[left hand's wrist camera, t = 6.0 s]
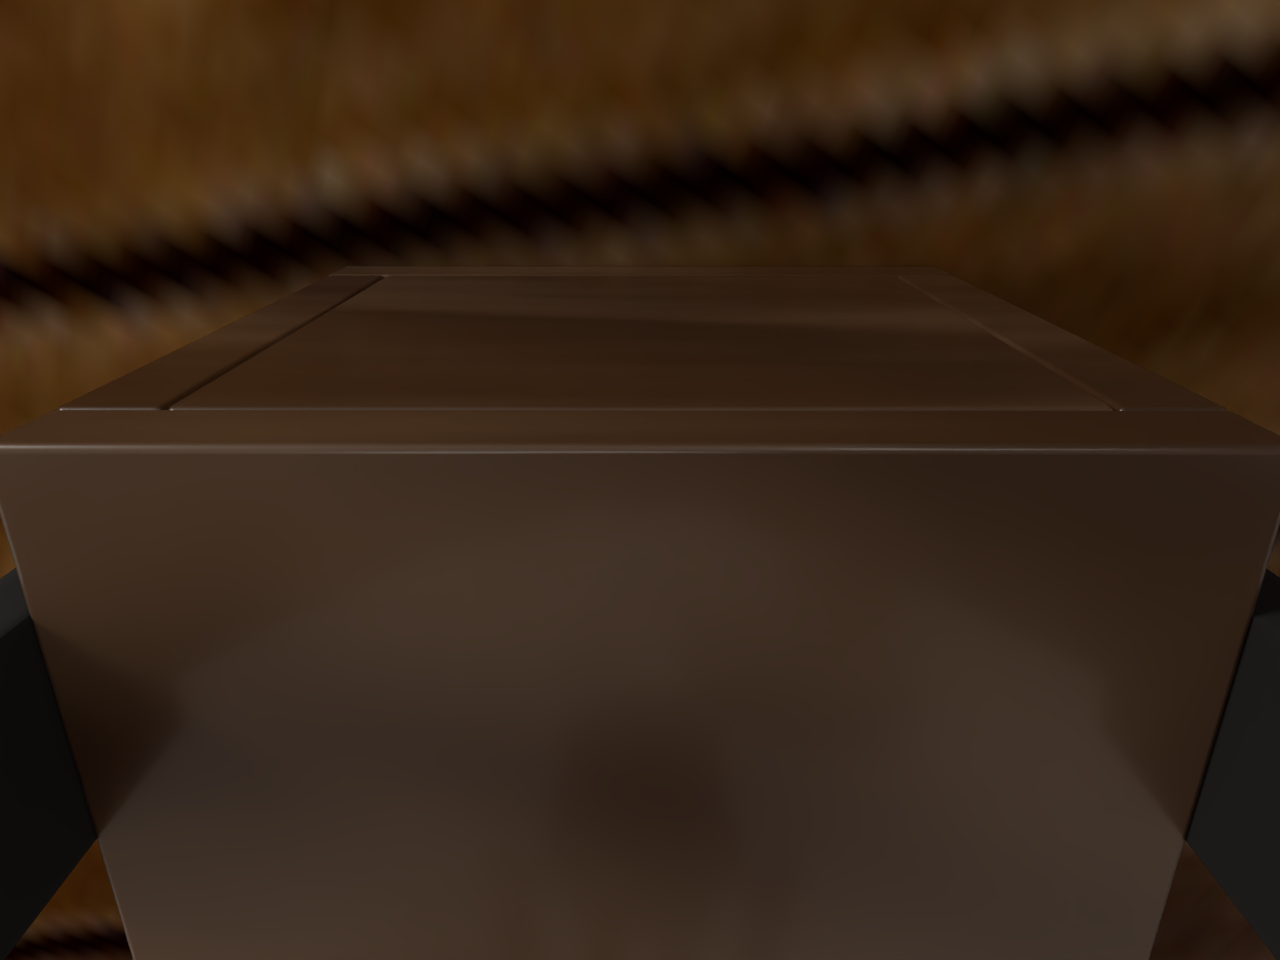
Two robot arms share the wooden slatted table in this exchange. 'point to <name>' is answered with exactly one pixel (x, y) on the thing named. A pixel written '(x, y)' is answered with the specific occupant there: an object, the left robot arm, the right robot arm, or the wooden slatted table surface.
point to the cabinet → (641, 620)
